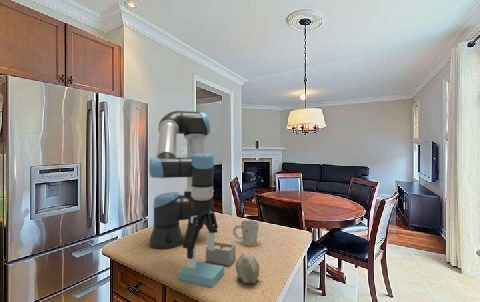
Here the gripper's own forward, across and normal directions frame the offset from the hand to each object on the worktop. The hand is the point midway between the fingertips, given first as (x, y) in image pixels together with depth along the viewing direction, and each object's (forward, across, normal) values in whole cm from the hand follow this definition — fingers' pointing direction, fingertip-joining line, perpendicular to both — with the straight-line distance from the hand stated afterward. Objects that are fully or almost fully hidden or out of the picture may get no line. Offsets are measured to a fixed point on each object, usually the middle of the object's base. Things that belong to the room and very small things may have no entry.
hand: (201, 257), depth 86 cm
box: (+7, +13, -2) cm, 15 cm away
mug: (+7, +34, -4) cm, 35 cm away
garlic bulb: (+6, +4, -16) cm, 17 cm away
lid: (+6, -1, 0) cm, 6 cm away
